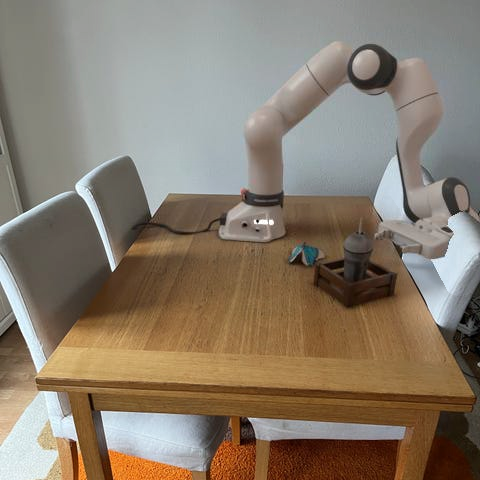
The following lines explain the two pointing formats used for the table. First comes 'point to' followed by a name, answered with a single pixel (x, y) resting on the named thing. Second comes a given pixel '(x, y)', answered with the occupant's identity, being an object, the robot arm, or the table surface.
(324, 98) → the robot arm
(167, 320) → the table surface
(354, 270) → the beverage cup
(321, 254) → the decorative butterfly
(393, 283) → the crate
